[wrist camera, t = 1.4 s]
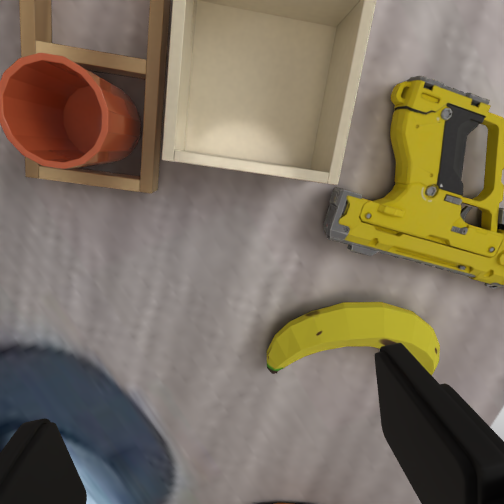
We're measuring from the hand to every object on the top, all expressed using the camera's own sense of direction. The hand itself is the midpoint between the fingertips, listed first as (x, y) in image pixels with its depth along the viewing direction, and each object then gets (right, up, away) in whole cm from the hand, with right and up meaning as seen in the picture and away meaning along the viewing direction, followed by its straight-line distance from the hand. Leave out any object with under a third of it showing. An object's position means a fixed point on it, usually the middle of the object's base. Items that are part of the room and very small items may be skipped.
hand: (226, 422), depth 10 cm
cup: (-12, +16, +19) cm, 27 cm away
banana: (+11, -6, +27) cm, 30 cm away
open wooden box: (+1, +18, +19) cm, 26 cm away
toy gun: (+21, +10, +23) cm, 33 cm away
